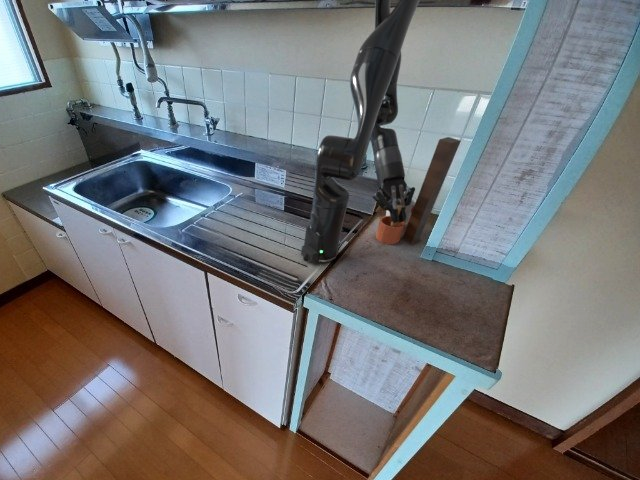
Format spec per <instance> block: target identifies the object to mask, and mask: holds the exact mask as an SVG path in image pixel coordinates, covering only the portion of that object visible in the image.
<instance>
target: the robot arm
mask: <svg viewBox="0 0 640 480" xmlns="http://www.w3.org/2000/svg"><path fill="white" fill-rule="evenodd" d="M391 1H392V0H374V30H373V31H372V32H371V33H370V34H369V35H368V37H367V38H366V39H365V40H364V41H363V43H362V45H361V46H360V47H359V50H358V53H357V55H356V58H355V61H354V64H353V67H352V70H351V73H350V76H349V88H350V94H351V98H352V101H353V105H354V108H355V112H356V119H357V130H356V135H355V137H354V138H353V137H346V136H339V135H331V134H330V135H326V136H324V137H323V138H322V139H321V141H320V143H319V146H318V150H317V154H316V161H315V172H314V184H313V196H312V197H313V198H312V204H311V211H310V216H309V217H310V218H309V224H308V225H306V227H305V236H304V243H303V245H302V246H301V251H300V252H301V253H300V255H301V256H303V257H302V258H303V261H304V262H307V263H308V262H310V263H314V264H317V263H323V264H324V263H330V262H333V261H334V260H335V259H336V258H337V255H338V251H339V250H338V249H339V246H340V240H341V235H342V232H343V227H344V222H345V217H346V214H347V213H346V212H347V208H348V204H349V199H350V192H349V190H348V189H347V188H346V187H345V186H343V185H341V184H340V183H338V182H337V180H336V179H338V180H344V181H354V180H356V179H357V177H358V176H359V174H360V172H361V170H362V167H363V164H364V162H365V158H366V155H367V153H368V148H369V145H370V144H371V148H372V154H373V165H374V170H375V174H376V175H375V176H376V181H377V184H378V186H379V187H378V191H377V192H375V193H373V195H372V199H373V200H374V201H375V202H376V203H377V205H378V206H379V207H380V208H381V209H382V210H383V211H387V210H388V211H389V212H390V216H391V221H392V222H393V223H397V222H403V221H405V219H406V213H405V207H406V206H408V205H410V203H411V200H412V197H414V194H415V192H416V187H414V186H412V187H411V186H408V184H407V182H406V180H405V178H406V174H405V169H404V162H403V157H402V154H401V153H402V152H401V150H400V147H399V142H398V136H397V132H396V130H395V129H393V128H388V127H387V128H386V127H382V126H387V125H390V124H392V123H394V121H395V120H396V119H397V118H398V114H399V102H398V80H399V75H400V69H401V66H402V65H401V64H402V48H403V46H404V43H405V39H406V37H407V33H408V30H409V27H410V25H411V23H412V20H413V18H414V15H415V13H416V10H417V8H418V5H419V3H420V1H421V0H399V1H398V2H397V4H396V5H395V7H393V9H392V11H391ZM404 194H405V196H404ZM397 205H401V206H402V208H401V211H400V214H399V215H398V209H396V208H397Z"/></svg>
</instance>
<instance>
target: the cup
mask: <svg viewBox="0 0 640 480" xmlns="http://www.w3.org/2000/svg"><path fill="white" fill-rule="evenodd" d="M404 196H405V194H404ZM416 200H417V197H415V196H413V197H412V200H411V203H410V205H408V206H406V207H405V213H406V219H405V223H408V221H409V219H410V216H411V214H412V211H413V208H414V206H415V203H416ZM385 216H390V212H389V211H388V210H385Z"/></svg>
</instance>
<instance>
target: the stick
mask: <svg viewBox="0 0 640 480" xmlns="http://www.w3.org/2000/svg"><path fill="white" fill-rule="evenodd" d="M401 208H402V206H401V205H397V208H396V209H398V215H399V214H400V211H401ZM395 225H396V223H393V222H391V225H390V226H391V227H395Z"/></svg>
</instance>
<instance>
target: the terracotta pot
mask: <svg viewBox="0 0 640 480" xmlns="http://www.w3.org/2000/svg"><path fill="white" fill-rule="evenodd" d="M391 222H392V221H391V216H386V215H384V216H382V217H380V219H379V221H378V225H377V228H376V232H375V239H376V240H377V241H378V242H379V243H382V244H385V245H396V244H397V243H399V241H400V240H401V239H402V237H403V234H404V231H405V228H406V226H407V224H406V223H407V222H406V223H405V221H403V222H397V223H396V225H395V227H391V226H390V225H391Z"/></svg>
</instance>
